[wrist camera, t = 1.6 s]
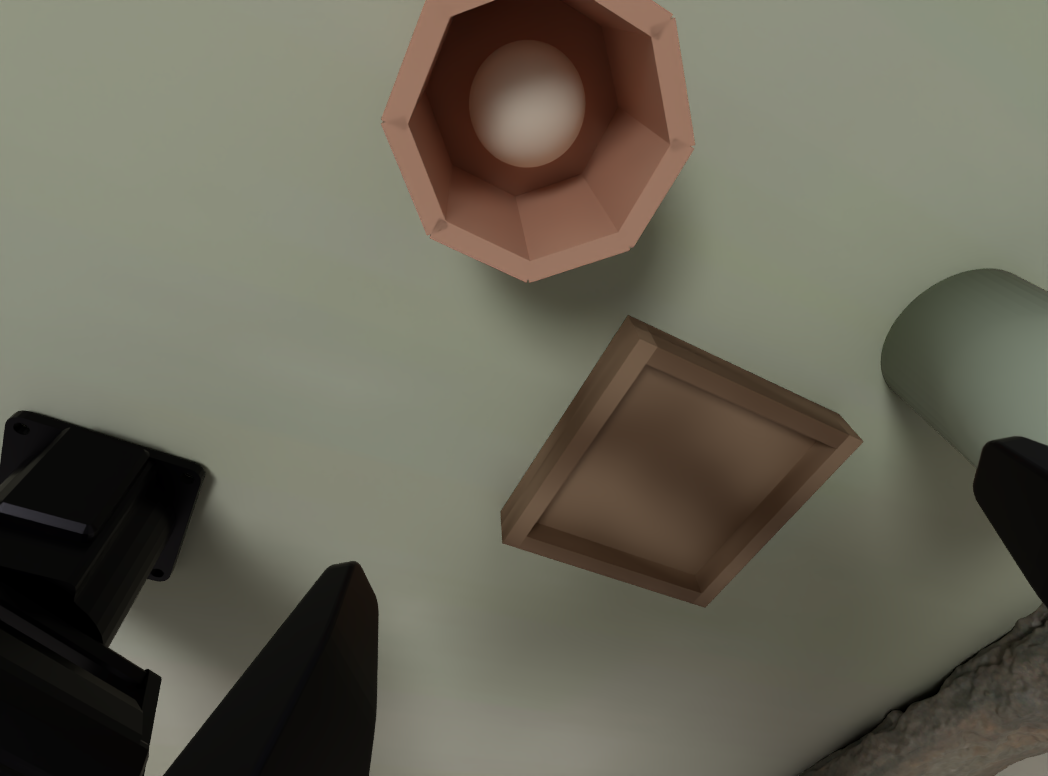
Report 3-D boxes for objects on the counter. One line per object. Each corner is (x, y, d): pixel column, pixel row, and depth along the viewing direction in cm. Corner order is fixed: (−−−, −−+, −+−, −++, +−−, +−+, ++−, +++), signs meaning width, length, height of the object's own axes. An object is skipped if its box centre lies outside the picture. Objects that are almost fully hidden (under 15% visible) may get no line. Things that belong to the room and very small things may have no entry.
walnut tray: (692, 575, 29) (705, 607, 28) (500, 511, 26) (502, 543, 25) (839, 414, 25) (863, 441, 23) (628, 315, 22) (639, 338, 20)
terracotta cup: (562, 233, 20) (592, 313, 15) (384, 145, 18) (350, 201, 13) (666, 44, 17) (746, 63, 12) (470, -81, 16) (470, -120, 11)
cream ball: (544, 172, 19) (556, 200, 16) (451, 123, 18) (448, 144, 15) (596, 72, 17) (617, 84, 15) (498, 13, 16) (503, 16, 14)
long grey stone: (708, 784, 43) (805, 804, 47) (736, 877, 39) (840, 891, 43) (1251, 447, 27) (1332, 518, 31) (1399, 544, 23) (1472, 613, 27)
